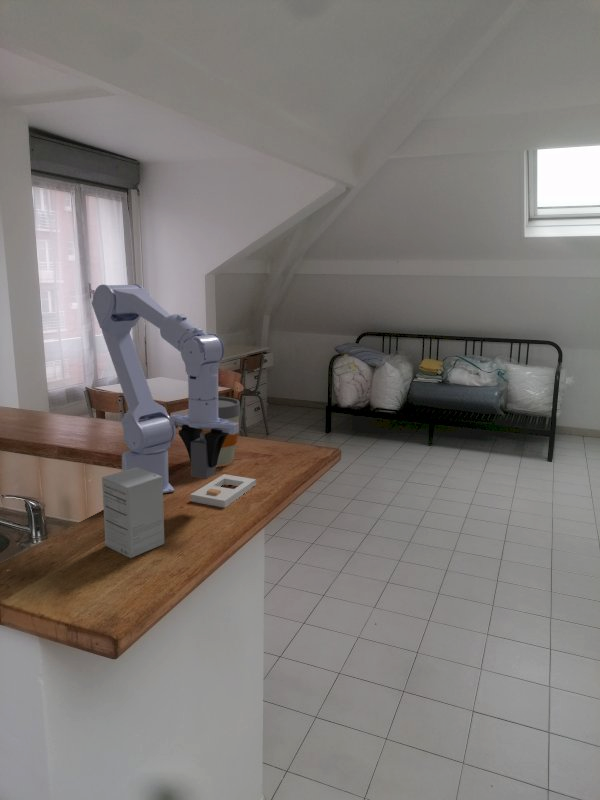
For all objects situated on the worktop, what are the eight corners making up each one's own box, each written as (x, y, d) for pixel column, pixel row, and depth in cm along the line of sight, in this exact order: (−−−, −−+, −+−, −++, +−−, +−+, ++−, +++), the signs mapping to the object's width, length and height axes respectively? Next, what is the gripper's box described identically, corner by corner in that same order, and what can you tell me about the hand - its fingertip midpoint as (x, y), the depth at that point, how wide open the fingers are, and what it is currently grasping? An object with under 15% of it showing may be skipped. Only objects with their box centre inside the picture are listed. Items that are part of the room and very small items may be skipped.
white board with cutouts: (224, 507, 125) (224, 497, 125) (190, 501, 128) (190, 491, 128) (255, 485, 138) (255, 476, 138) (223, 480, 141) (223, 471, 141)
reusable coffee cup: (246, 466, 151) (247, 406, 148) (195, 471, 146) (194, 409, 143) (232, 452, 162) (232, 395, 159) (184, 456, 158) (183, 398, 154)
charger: (206, 478, 122) (206, 436, 120) (191, 476, 123) (190, 434, 121) (215, 473, 125) (215, 432, 123) (200, 470, 126) (200, 430, 125)
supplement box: (139, 532, 113) (137, 466, 111) (165, 544, 109) (164, 475, 106) (103, 546, 108) (100, 476, 105) (129, 559, 103) (127, 486, 100)
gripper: (159, 397, 120) (161, 464, 123) (225, 405, 115) (225, 476, 118) (180, 390, 126) (181, 455, 129) (244, 398, 121) (243, 465, 124)
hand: (203, 464), depth 124 cm, fingers closed on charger, 3 cm apart
